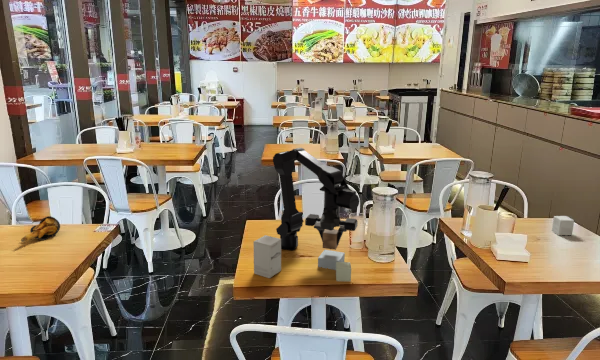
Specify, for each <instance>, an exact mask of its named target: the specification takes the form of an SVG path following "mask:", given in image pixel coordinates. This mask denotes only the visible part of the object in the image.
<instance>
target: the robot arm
mask: <svg viewBox="0 0 600 360" xmlns="http://www.w3.org/2000/svg"><path fill="white" fill-rule="evenodd" d="M296 161H297V162H298V163H300V164H301V165H302V166H304V167H305V168H306V169H308V170H309V171H310V172H312V173H313V174H314V175H316V177H317V179H318V181H319V182H320V184H322V187H319V191H320V192H324V193H323V194H324V195H323V211H322V215H321V217H320V215H319V214H315V213H310V214H308V215H307V217H305V220H303V213H302V212H299V210H298V209H297V203H296V197H295V195H296V194H295V188H294V187H295V186H294V179H293V172H294V168H295V165H296V163H295V162H296ZM272 162H273V166H274V169H275V171H276V172H277V174H278V175H279V182H280V183H279V184H280V190H281V197H282V204H283V212H282V214H281V221H280V222H281V223H280V225H279V226H278V227H277V228H276V229H275V230H276V235H279V239H281V250H286V251H287V250H288V251H294V250H296V248H297V247H298V246H299V236H298V232H300V231H301V228H302V227H303V223H304V225H305V226H308V227H313V228H314V229H316V230H317V231H318V233H319V235H320V238H321V242H322V243H323V232H324V231H325V229H327V230H333V229H335V228H337V227H338V228H337V230H338V237H337V245H338V244H339V243H340V241H341V239H342V236H343V233H344V232H345V233H346V232H347V231H349V232H355V231H356V230H357V227H358V219H357V218H352V217H351V218H349V217H347V218H346V219H345V220H341V217H340V210H341V209H340V208H343V209H346V210H350V211H356V210H357V209H358V208H359V205H360V198H359V195H358V194H357V191H356V190H350V187H349V185H348V183H347V181H346V179H345V177H344V175H343V174H344V173H343V171H341V170H340V169H338V168H337V167H334V166H329V165H326V164H324V163H323V162H322V161H320V160H319V159H318V158H316V157H315V156H314V155H312V154H310V153H309V152H307V150H305V148H303V147H297V148H296V147H295V148H293V149H291V150H286V151H281V152H276V153H275V154H274V155H273V156H272ZM338 246H339V245H338Z"/></svg>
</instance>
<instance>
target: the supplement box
mask: <svg viewBox="0 0 600 360" xmlns="http://www.w3.org/2000/svg"><path fill="white" fill-rule="evenodd" d="M281 271H282V249H281V239H280V237H279V238H278V237H276V236H275V237H273V236H271V235H270V236H269V235H267V234H266V235H265V234H264V235H263V236H262V237H260V238H258V239H257V238H256V239H255V240H253V273H254V274H255V275H258V276H261V277H263V278H267V279H271V278H272V277H273V276H274V275H275V276H276V275H277V274H278V273H279V272H281Z"/></svg>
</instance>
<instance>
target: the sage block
mask: <svg viewBox="0 0 600 360" xmlns="http://www.w3.org/2000/svg"><path fill="white" fill-rule="evenodd" d="M335 280H336V282H352V264H351V262H350V261H349V262H346V261H344V262H336V270H335Z"/></svg>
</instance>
